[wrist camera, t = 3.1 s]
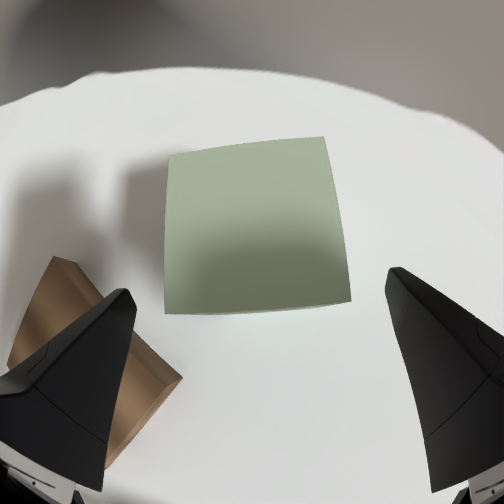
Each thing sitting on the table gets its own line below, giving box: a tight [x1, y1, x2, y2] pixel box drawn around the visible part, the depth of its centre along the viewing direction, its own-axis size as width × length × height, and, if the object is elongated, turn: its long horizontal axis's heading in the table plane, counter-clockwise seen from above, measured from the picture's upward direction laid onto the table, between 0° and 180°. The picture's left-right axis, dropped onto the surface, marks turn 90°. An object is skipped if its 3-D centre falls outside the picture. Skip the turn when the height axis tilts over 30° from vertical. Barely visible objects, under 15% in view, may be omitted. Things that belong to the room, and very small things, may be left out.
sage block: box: [164, 137, 351, 315], centre depth 14 cm, size 6×6×10 cm
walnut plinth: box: [7, 256, 183, 469], centre depth 17 cm, size 14×14×3 cm
